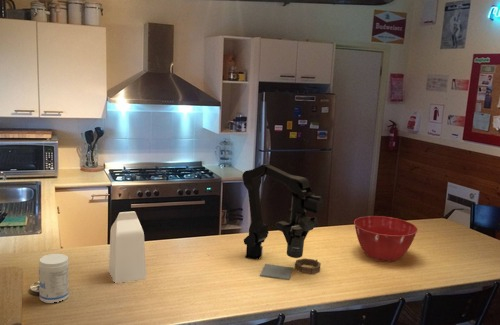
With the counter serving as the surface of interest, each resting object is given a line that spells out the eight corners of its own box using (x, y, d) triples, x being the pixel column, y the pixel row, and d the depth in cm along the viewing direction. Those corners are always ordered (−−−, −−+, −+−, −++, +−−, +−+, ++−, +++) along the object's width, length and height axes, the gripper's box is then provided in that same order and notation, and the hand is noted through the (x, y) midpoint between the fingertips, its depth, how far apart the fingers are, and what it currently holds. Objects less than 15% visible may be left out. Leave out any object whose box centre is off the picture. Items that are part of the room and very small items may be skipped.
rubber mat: (259, 276, 194) (259, 274, 194) (265, 265, 206) (265, 263, 206) (288, 280, 192) (289, 278, 192) (292, 268, 203) (293, 267, 203)
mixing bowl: (377, 271, 205) (380, 237, 202) (339, 248, 230) (341, 218, 228) (427, 264, 216) (431, 231, 214) (385, 243, 242) (388, 213, 239)
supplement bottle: (293, 259, 196) (295, 231, 194) (283, 253, 202) (285, 226, 199) (306, 256, 200) (308, 229, 198) (295, 251, 205) (297, 224, 203)
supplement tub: (34, 297, 167) (33, 257, 164) (60, 289, 174) (59, 251, 172) (48, 307, 161) (47, 266, 158) (74, 298, 168) (73, 258, 165)
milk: (114, 284, 181) (114, 218, 176) (108, 272, 191) (108, 209, 186) (146, 279, 186) (146, 215, 182) (138, 268, 196) (139, 207, 192)
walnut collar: (293, 271, 200) (294, 264, 200) (296, 262, 210) (297, 255, 210) (318, 275, 198) (319, 267, 197) (320, 265, 208) (321, 258, 207)
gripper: (292, 216, 185) (289, 254, 188) (328, 210, 195) (325, 247, 198) (275, 208, 194) (273, 244, 197) (310, 203, 204) (307, 238, 207)
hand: (295, 243), depth 200 cm, fingers closed on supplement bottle, 7 cm apart
